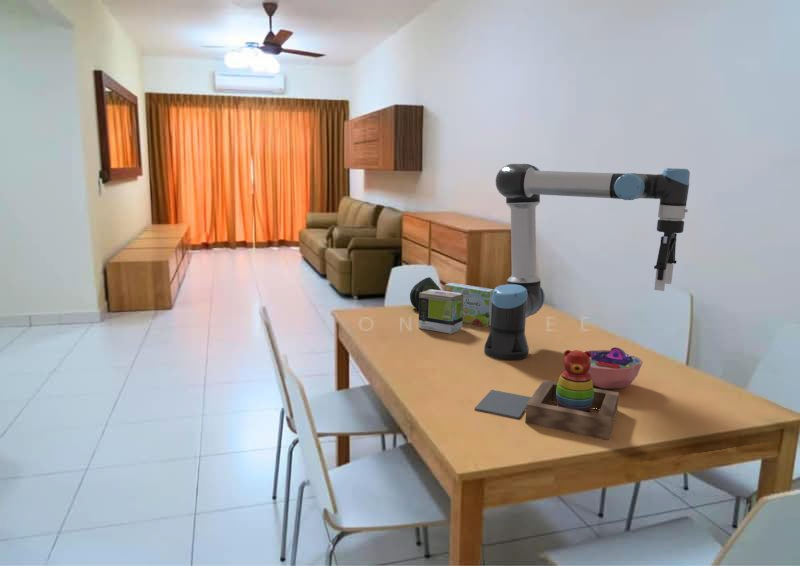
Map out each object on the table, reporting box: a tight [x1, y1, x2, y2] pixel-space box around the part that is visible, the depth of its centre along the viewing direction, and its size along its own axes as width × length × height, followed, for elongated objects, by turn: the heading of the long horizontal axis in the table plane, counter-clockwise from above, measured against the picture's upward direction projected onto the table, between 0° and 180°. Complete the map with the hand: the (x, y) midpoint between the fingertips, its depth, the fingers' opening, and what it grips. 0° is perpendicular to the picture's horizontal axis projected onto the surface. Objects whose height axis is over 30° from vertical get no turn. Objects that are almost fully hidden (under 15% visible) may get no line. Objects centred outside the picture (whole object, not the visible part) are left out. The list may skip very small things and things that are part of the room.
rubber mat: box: [474, 389, 532, 420], centre depth 160 cm, size 12×15×1 cm
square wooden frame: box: [524, 379, 620, 441], centre depth 153 cm, size 20×20×5 cm
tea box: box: [418, 289, 463, 335], centre depth 232 cm, size 15×10×15 cm, turn 58°
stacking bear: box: [556, 349, 594, 413], centre depth 152 cm, size 11×10×18 cm
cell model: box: [585, 346, 643, 390], centre depth 175 cm, size 17×20×11 cm
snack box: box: [444, 282, 495, 328], centre depth 244 cm, size 21×6×15 cm, turn 55°
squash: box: [409, 276, 442, 310], centre depth 264 cm, size 14×15×15 cm
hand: (662, 286), depth 186 cm, fingers open, 13 cm apart
